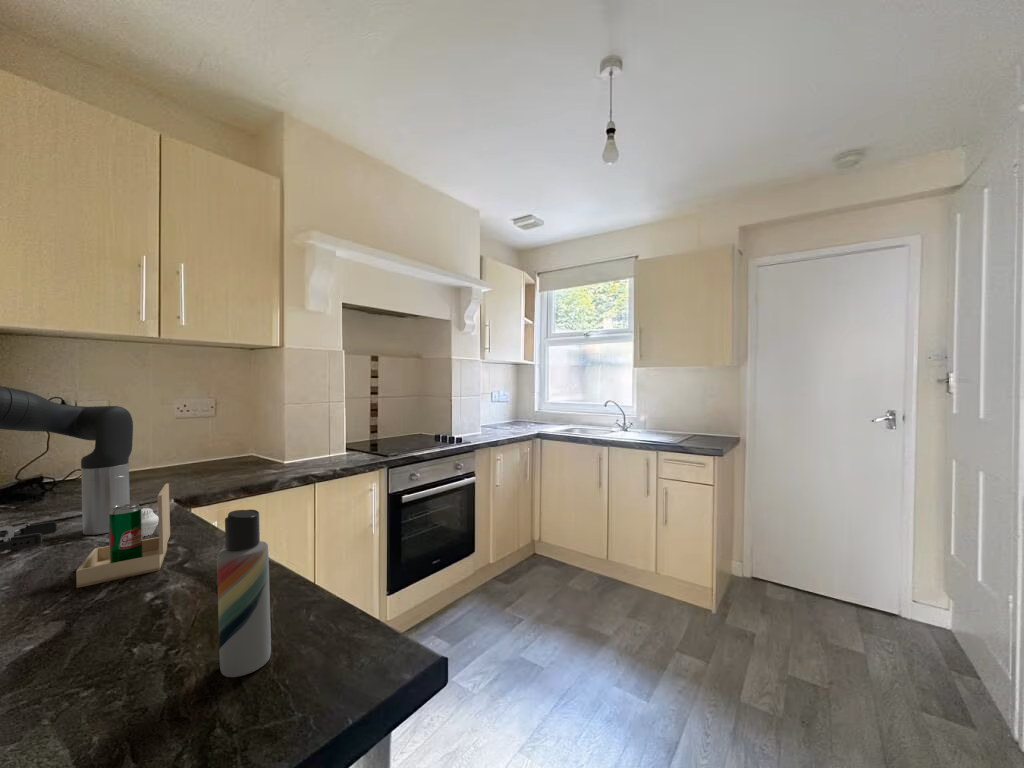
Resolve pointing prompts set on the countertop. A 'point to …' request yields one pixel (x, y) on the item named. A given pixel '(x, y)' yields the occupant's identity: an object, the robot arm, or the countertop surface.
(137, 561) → the mailer box
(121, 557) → the soda can
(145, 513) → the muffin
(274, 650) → the countertop surface
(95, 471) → the robot arm
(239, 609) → the lotion bottle
